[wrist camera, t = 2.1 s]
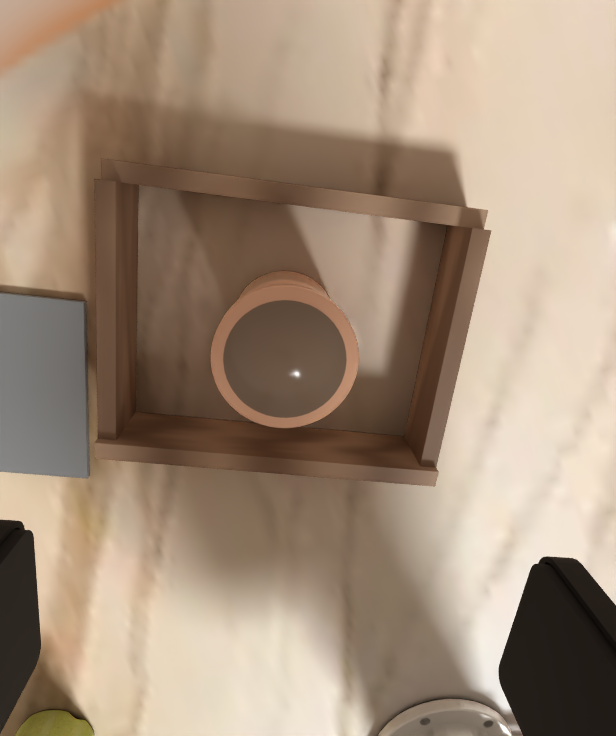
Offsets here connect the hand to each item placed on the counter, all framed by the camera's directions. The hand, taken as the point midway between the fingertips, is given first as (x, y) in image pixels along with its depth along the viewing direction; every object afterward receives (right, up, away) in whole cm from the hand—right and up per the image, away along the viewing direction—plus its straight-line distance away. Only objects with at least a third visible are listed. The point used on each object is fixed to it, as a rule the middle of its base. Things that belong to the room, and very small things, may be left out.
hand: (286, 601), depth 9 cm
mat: (-20, +3, +21) cm, 29 cm away
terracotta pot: (-1, +7, +21) cm, 23 cm away
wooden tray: (-1, +7, +21) cm, 22 cm away
